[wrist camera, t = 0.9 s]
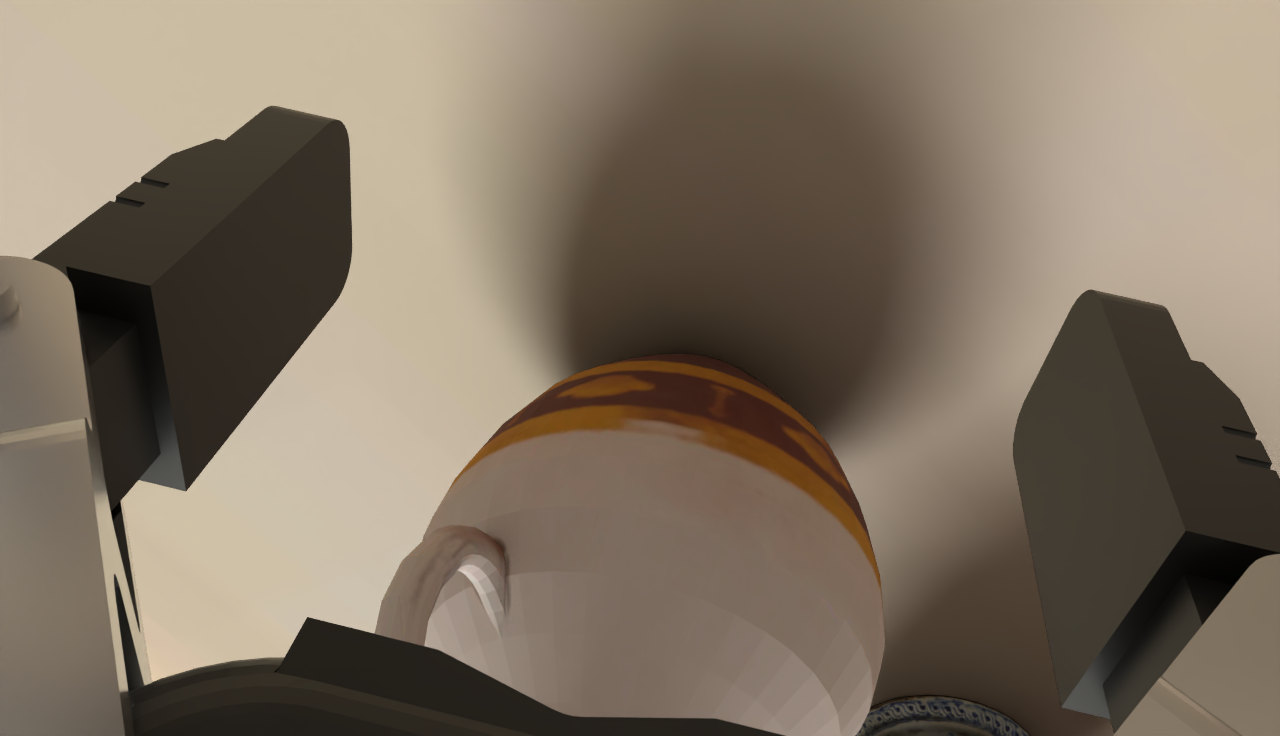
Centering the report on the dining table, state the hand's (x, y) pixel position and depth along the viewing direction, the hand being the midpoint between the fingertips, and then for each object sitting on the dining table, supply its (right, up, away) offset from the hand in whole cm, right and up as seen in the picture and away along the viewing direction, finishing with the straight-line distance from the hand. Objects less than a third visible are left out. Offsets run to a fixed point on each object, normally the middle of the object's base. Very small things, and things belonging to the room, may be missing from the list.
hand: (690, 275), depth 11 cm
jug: (+1, -3, +35) cm, 35 cm away
